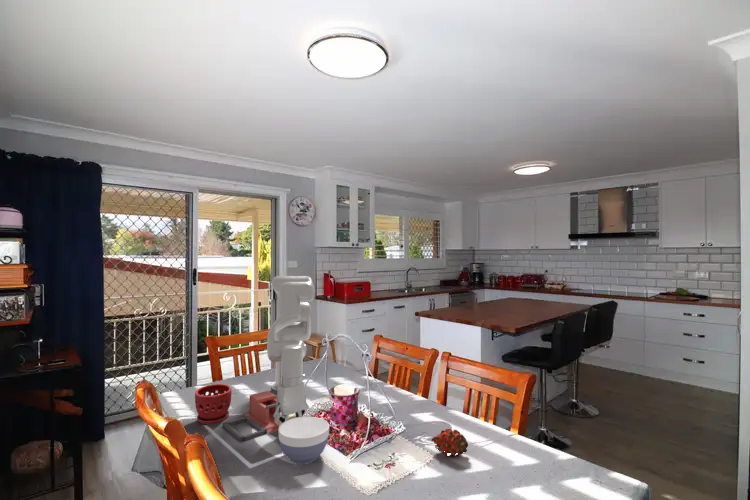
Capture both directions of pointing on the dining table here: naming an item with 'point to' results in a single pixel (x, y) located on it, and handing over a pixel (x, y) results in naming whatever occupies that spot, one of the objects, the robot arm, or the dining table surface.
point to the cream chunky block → (288, 419)
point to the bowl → (303, 438)
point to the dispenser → (263, 410)
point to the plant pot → (213, 403)
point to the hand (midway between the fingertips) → (291, 431)
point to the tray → (240, 436)
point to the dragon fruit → (451, 442)
